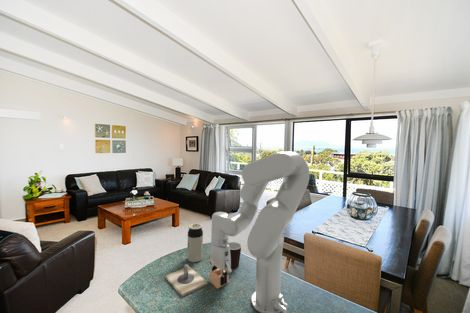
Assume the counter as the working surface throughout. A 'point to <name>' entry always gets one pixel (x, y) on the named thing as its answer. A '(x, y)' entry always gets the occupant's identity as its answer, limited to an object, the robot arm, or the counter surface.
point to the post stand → (186, 280)
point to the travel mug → (195, 243)
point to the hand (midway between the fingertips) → (219, 279)
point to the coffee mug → (235, 253)
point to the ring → (217, 278)
